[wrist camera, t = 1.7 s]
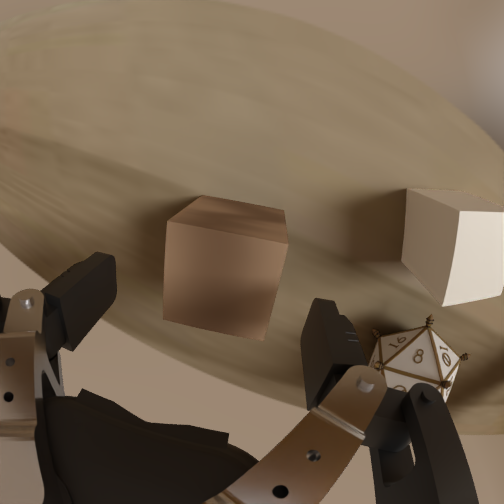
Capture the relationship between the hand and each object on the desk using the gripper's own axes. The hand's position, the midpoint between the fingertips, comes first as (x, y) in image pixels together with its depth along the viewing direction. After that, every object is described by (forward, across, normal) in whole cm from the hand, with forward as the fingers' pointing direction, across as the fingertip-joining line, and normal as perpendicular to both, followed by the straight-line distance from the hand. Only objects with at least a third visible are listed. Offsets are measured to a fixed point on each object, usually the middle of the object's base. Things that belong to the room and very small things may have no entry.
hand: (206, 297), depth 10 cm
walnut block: (+8, 0, 0) cm, 8 cm away
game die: (+7, -14, +6) cm, 17 cm away
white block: (+7, -13, -4) cm, 16 cm away
